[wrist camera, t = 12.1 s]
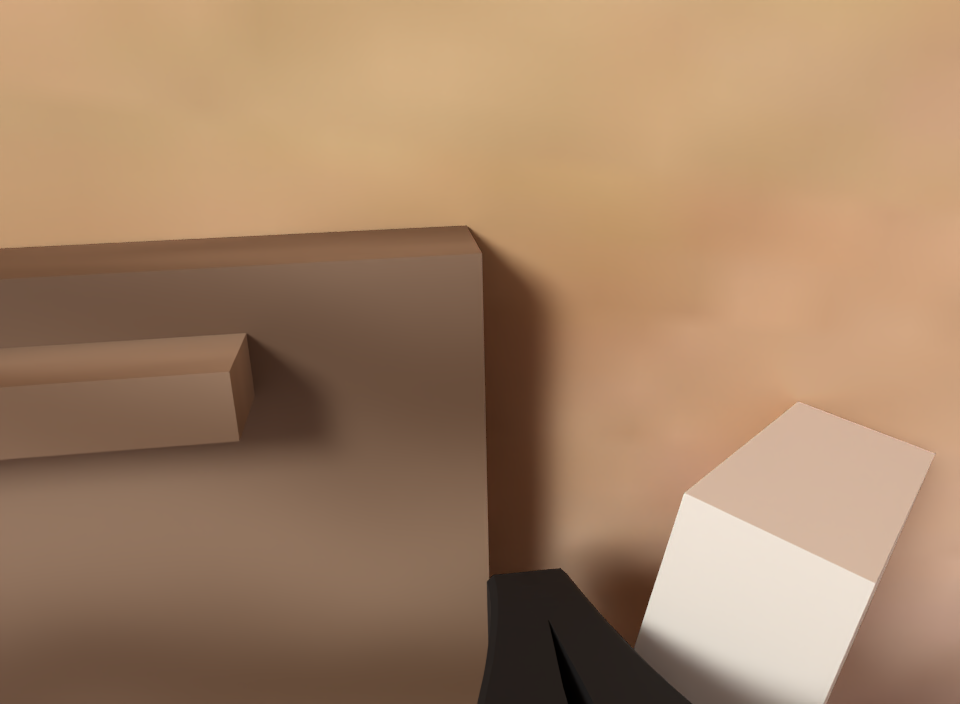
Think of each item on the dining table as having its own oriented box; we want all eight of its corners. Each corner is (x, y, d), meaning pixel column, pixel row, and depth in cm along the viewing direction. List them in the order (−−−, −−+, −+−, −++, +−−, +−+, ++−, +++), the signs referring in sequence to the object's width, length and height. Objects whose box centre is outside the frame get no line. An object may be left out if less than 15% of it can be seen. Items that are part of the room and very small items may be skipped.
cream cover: (697, 680, 18) (807, 746, 16) (565, 859, 13) (707, 971, 12) (798, 401, 15) (935, 453, 14) (684, 492, 11) (875, 583, 9)
